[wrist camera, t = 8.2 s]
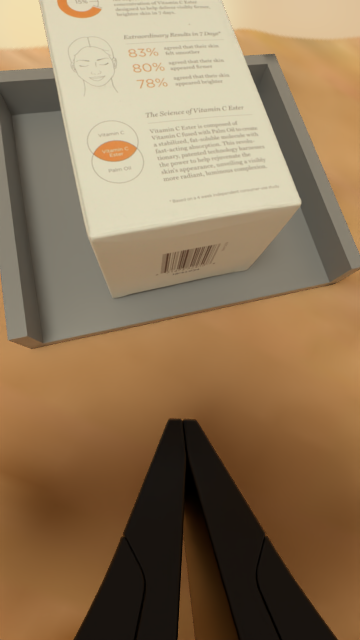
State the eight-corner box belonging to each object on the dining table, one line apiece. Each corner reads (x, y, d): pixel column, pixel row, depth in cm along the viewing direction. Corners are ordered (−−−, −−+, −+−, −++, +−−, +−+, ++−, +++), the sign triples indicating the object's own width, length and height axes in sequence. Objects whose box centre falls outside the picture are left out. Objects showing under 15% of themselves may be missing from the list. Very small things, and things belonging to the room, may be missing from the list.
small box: (248, 273, 16) (192, 99, 19) (308, 203, 10) (213, -38, 13) (109, 301, 15) (70, 109, 18) (82, 240, 9) (30, -37, 12)
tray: (335, 283, 17) (364, 266, 15) (31, 348, 15) (7, 340, 12) (260, 93, 21) (274, 53, 18) (1, 115, 18) (-22, 72, 16)
